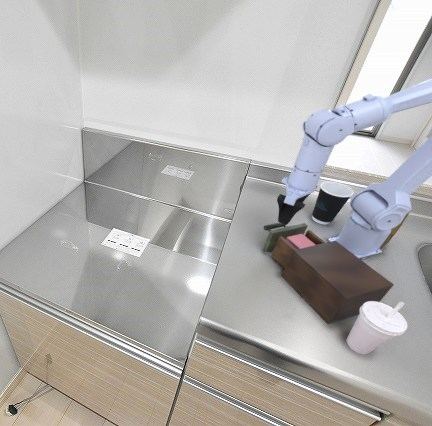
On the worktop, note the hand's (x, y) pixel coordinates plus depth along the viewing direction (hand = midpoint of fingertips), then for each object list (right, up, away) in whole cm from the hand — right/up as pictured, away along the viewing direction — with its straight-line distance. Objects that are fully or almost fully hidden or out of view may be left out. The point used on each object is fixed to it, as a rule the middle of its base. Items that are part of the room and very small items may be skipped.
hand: (287, 215), depth 73 cm
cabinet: (+4, -18, -6) cm, 19 cm away
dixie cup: (+19, -2, +15) cm, 24 cm away
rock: (+29, -6, +9) cm, 31 cm away
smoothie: (+4, -25, -16) cm, 30 cm away
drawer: (+2, -11, +2) cm, 11 cm away
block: (+2, -10, 0) cm, 10 cm away
